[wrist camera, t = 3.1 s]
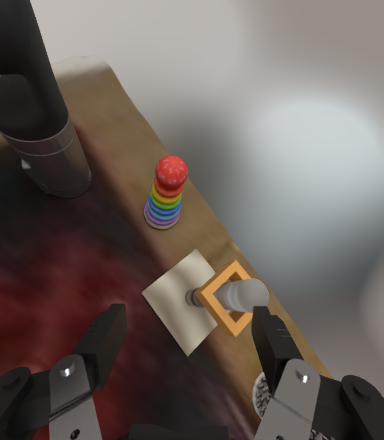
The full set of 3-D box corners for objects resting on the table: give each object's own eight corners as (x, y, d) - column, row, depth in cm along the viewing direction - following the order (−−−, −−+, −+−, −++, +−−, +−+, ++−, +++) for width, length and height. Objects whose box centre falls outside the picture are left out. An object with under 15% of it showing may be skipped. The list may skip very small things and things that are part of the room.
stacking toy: (185, 216, 48) (211, 171, 31) (159, 237, 45) (172, 199, 28) (163, 192, 49) (176, 135, 32) (136, 211, 46) (134, 159, 29)
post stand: (185, 354, 38) (258, 438, 15) (141, 292, 40) (145, 283, 17) (235, 302, 44) (344, 305, 21) (194, 250, 46) (251, 199, 23)
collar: (224, 332, 24) (235, 337, 21) (194, 293, 24) (200, 292, 22) (254, 299, 26) (268, 299, 23) (226, 264, 27) (236, 259, 24)
